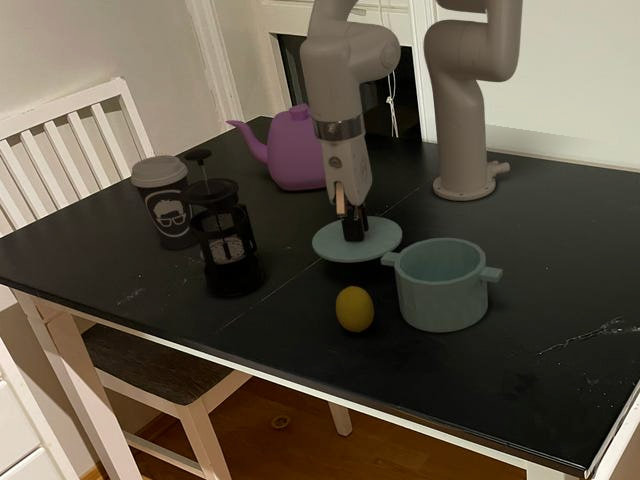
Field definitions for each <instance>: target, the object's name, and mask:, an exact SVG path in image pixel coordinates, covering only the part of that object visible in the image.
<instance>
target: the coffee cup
mask: <svg viewBox="0 0 640 480" xmlns="http://www.w3.org/2000/svg"><path fill="white" fill-rule="evenodd" d="M188 173H189V169H188V168H187V166H186V165H185V163H184V162H182V161H181V160H180V159H179V157H178V156H175V155H167V154H163V155H155V156H150V157H147V158H144V159H141V160H139V161H137V162H136V163H134V164H133V166H132V167H131V173H130V183H131V184H132V185H133V186H135V187H136V189H137V191H138V193H139V195H140V198H141V200H142V202H143V204H144V206H145V209H146V210H147V213H148V215H149V217H150V220H151V221H152V223H153V225H154V228H155V230H156V231H157V234H158V237H159V239H160V241H161V243H162V245H163V247H164V248H165V249H168V250H182V249H186V248H189V247H192V246H193V245H195V244H197V243H198V242H199V241H198V238H196V237H194V236H193V235H192V234H191V232H190V229H189V226H188V223H189V220H190V219H191V218H192V217H193V216H194V215H195V210H194V205H190V204H188V206H187V208H186V207H185V204H184V202H182V201H181V200H180V198H179V194H180V192H181V191H182V189H184V188H185V187H187V186H188V185H189V183H188V182H189V181H188V177H187V175H188ZM192 229H194V230H195V228H194V227H193V228H192Z"/></svg>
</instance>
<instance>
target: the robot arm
mask: <svg viewBox="0 0 640 480" xmlns="http://www.w3.org/2000/svg"><path fill="white" fill-rule="evenodd" d="M359 1H360V0H314V1H313V5H312V9H311V13H310V17H309V22H308V28H307V31H306V39H305V40H304V41H302V43H301V45H300V47H299V58H300V64H301V69H302V74H303V79H304V85H305V89H306V90H305V91H306V96H307V100H308V106H309V108H310V112H311V117H312V122H313V128H314V133H315V138H316V140H317V141H318V142H320V143H321V147H322V158H323V166H324V173H325V180H326V186H327V187H326V192H327V195H328V200H329V203H330V204H331V205H332V206H334V207H335V206H336V216H337V217H339V220H341V223H342V228H343V234H344V239H345V241H363V240H364V232H363V226H364V231H368V229H369V225H368V219H367V216H368V213H367V208H366V197H367V195H368V193H369V191H370V189H371V187H372V184H373V174H372V168H371V163H370V159H369V158H370V157H369V153H368V148H367V143H366V139H365V135H366V128H365V121H364V119H365V118H364V113H363V107H362V100H361V92H360V85H361V84H364V83H368V82H369V83H370V82H373V81H378V80H382V79H384V78H386V77H388V76H389V75H391V74H392V73H393V72H394V71H395V70H396V68H397V66H398V64H399V62H400V59H401V55H402V54H401V52H402V51H401V50H402V49H401V43H400V41H399V38H398V36H397V35H396V34H395V33H394V32H393V31H392V30H391V29H390V28H388V27H386V26H384V25H381V24H374V23H365V22H360V21H359V22H357V21H348V19H349V16H350V14H351V12H352V10H353V8H355V5H356V4H357V3H358V2H359ZM435 3H436V4H437V5H438V6H439V7H440V8H442V9H444V10H446V11H447V10H448V11H452V12H453V11H454V12H460V13H471V14H482V15H483V14H485V15H486V22H484V21H483V22H482V21H476V20H475V21H474V20H466V19H465V20H463V19H441V20H438V21H436V22H434V23H433V24H431V25H430V26H429V27H428V29H427V30H426V32H425V34H424V36H423V43H422V51H423V58H424V62H425V66H426V69H427V72H428V76H429V80H430V85H431V91H432V100H433V113H434V121H435V122H434V124H435V131H436V132H435V134H436V144H437V157H438V167H439V168H438V169H439V176H438V177H437V178H435V180H434V181H433V183H432V190H433V192H434V193H435V195H437V196H438V197H440V198H442V199H446V200H449V201H457V202H459V201H460V202H463V201H473V200H474V201H475V200H478V199H481V198H484V197H486V196H488V195H490V194H491V193H492V192H494V191H495V188H496V179H495V177H496V176H497V175H499V174H504V173H505V174H506V173H508V172H510V170H511V167H510V164H509V162H507V161H506V162H502V163H499V161H498V160H492V161H489V162H488V158H487V157H488V156H487V136H486V135H487V133H486V113H485V112H486V111H485V98H484V94H483V91H482V89H481V86H480V84H479V82H478V81H481V82H487V83H488V82H489V83H504V82H507V81H509V80H510V79H511V78H513V76H514V75H515V73H516V70H517V68H518V63H519V59H520V52H521V51H520V50H521V37H522V21H523V5H524V4H523V3H524V0H435ZM348 206H352V209H353V211H352V209H347V207H348ZM357 206H359V207H360V208H361V213H362V219H363V226H362V220H361V218H359V214H358V207H357Z"/></svg>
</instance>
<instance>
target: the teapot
mask: <svg viewBox="0 0 640 480" xmlns="http://www.w3.org/2000/svg"><path fill="white" fill-rule="evenodd" d="M225 123H226V124H228V125H230V126H232V127H235V128H236V129H237V130H238V131H239V132H240V133H241V135H242V137H243V138H244V140H245V142H246V145H247V148H248V149H249V152H250V154H251V155H252V156H253V159H255V160H256V161H257V162H259V163H260V164H262V165H264V166H266V167H267V168H268V172H269V175H270V177H271V178H272V179H273V181H274V182H275V183H276V185H277V186H278V187H279V188H280V189H282V190H285V191H304V190H313V189H314V190H315V189H321V188H327V186H326V180H325V173H324V166H323V158H322V147H321V143H320V142H318V141H317V140H316V138H315V133H314V128H313V122H312V117H311V112H310V106H309V104H307V103H300V104H298V105H297V104H296V105H293V106H291V107H289V109H288V110H284V111H283V110H282V111H280V112H278V113H276V114H275V115H274V116H273V118H272V120H271V122H270V126H269V130H268V135H267V142H266V144H264V143H261V142H260V141H259V140H258V139H257V138H256V136H255V134H254V132H253V130H252V128H251V127H250V126H249V125H248V124H247V123H246V122H245V121H242V120H236V119H235V120H234V119H232V120H231V119H230V120H225Z"/></svg>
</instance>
